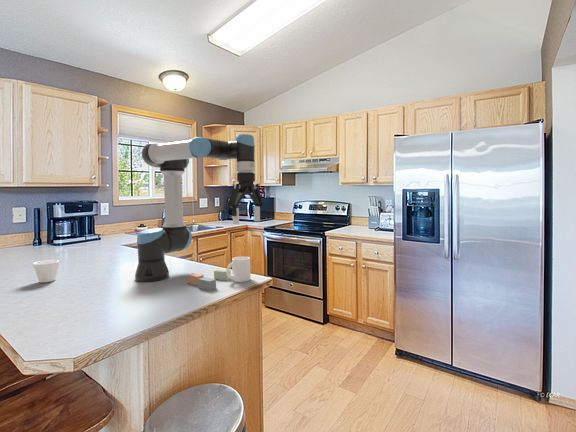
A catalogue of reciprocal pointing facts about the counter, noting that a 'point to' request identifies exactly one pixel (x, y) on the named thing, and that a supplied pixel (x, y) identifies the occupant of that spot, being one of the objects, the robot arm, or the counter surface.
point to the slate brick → (207, 283)
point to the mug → (239, 269)
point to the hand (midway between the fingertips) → (246, 222)
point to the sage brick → (221, 274)
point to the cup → (46, 270)
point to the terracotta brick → (194, 278)
